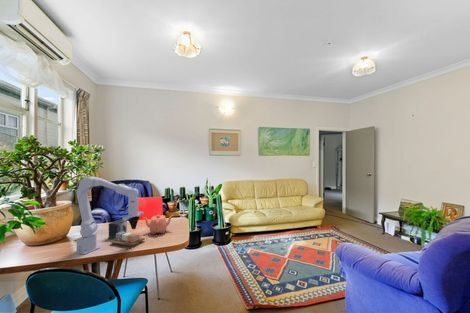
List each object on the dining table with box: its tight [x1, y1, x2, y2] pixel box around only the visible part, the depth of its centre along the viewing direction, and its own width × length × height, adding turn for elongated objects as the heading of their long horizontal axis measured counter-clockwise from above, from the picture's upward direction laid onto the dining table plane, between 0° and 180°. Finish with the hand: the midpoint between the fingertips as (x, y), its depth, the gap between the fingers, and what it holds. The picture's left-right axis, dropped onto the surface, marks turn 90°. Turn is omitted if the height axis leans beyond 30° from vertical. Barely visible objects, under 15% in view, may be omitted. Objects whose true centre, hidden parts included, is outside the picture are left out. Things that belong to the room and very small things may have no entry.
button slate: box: [116, 231, 127, 240], centre depth 138 cm, size 4×4×4 cm
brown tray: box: [109, 236, 146, 250], centre depth 136 cm, size 11×18×2 cm, turn 69°
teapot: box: [142, 214, 174, 236], centre depth 155 cm, size 15×17×13 cm
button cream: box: [122, 232, 134, 241], centre depth 136 cm, size 4×4×4 cm
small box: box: [108, 218, 128, 240], centre depth 148 cm, size 11×6×10 cm, turn 168°
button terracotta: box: [128, 233, 140, 242], centre depth 134 cm, size 4×4×4 cm
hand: (133, 228), depth 134 cm, fingers closed
